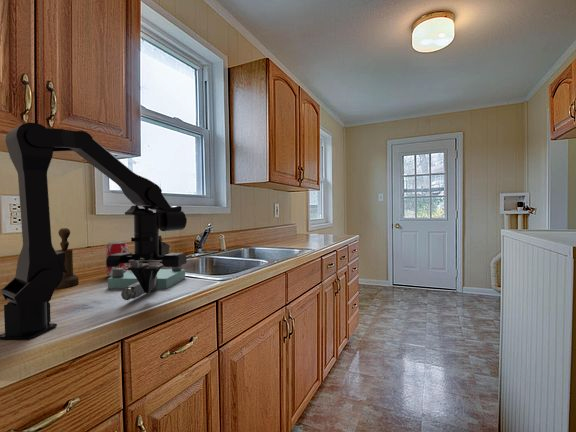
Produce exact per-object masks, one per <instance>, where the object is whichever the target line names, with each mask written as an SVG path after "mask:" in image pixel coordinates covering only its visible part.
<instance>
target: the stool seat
mask: <svg viewBox="0 0 576 432" xmlns="http://www.w3.org/2000/svg"><path fill="white" fill-rule="evenodd" d="M182 267H183V265H181V266H179V267H171V268H161V269H160V270H159V271H158V273H157V290H158V289H159V290H160V289H164V290H166V289H168V288H170V287H172V286H174V285H176V284H177V283H179V282H181V281H182V280H184V279H186V269H182ZM112 276H113V277H107V289H109V290H110V289H112V290H113V289H114V290H115V289H123V290H124V289H126V287H127V286H130V285H132V284H134V283H136V282H139V281H138V280H137V278H136V277H135V275H134V274H133V273H132V271H131V270H129V271H128V272H125V273H124V268H115V269H112Z"/></svg>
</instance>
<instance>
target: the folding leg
mask: <svg viewBox="0 0 576 432" xmlns="http://www.w3.org/2000/svg"><path fill="white" fill-rule="evenodd" d="M156 290H158V289H157V275H156V277H155V280H154V283H153V286H152V289H151V292H152V291H156ZM144 294H146V293H145V292H144V290H143V288H142V287H141V285H140V283H139V282H136V283H134V284H132V285H130V286H127V287H126V289H123V290H122V291H121V293H120V296H121V298H122V299H123V300H125V301H130V300H134V299H137V298H139V297H141V296H142V295H144Z"/></svg>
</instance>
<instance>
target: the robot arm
mask: <svg viewBox="0 0 576 432" xmlns="http://www.w3.org/2000/svg"><path fill="white" fill-rule="evenodd" d="M4 140H5V145H6V148H7V151H8V155H9V158H10V160H11V162H12V164H13V166H14V168H15V170H16V172H17V178H18V179H17V180H18V194H19V207H20V210H19V211H20V222H21V223H20V224H21V236H22V237H21V238H22V248H21V251H20V252H19V256H18V259H17V264H16V268H15V277H14V278H12V279H11V280H10V281H9V282H8V283H7V284H6V285H5V286H4V287H3V288H2V289H0V293H1V296H2V298H3V299H4V300H5V301H8V302H7V304H4V305H3V315H4V316H3V317H4V318H3V319H4V332H3V333H1V334H0V340H1V339H3V340H29V339H33V338H34V337H37V336H39V335H41V334H43V333H45V332H48V331H49V330H52V329H54V328H56V327H58V323H51V303H50V301H51V299H52V297H53V296H54V292H55V290H56V289H58V288H57V286H58V285H59V284H60V283H61V282H62V280H63V273H67V271H66V269H65V265H64V263H65V253H64V252H58V251H59V250H55V248H54V246H53V242H52V230H51V215H50V214H51V213H50V200H49V184H48V170H49V167H50V164H51V162H52V159H53V155H54V153H55V152H75V154H78V155H79V156H80V157H81V158H82V159H83V160H85V161H87V162H88V163H89V164H90V165H91V166H93V167H94V168H95V169H97V170H98V171H100V172H101V174H104V175H105V176H106V177H107V178H108V179H110V180H111V181H112V182H114V183H115V184H116V185H117V186H118V187H119V188H120V189H121V191H122V193H123V194H124V196H125V197H126V198H127V199H128V200H129V201H130V203H132V204H133V205H131V207H130V208H129V209H128V210H126V211H125V212H124V215H125V216H133V232H134V233H133V237H131V238H130V239H131V240H130V242H134V243H133V245H134V247H133V248H134V253H132V252H128V253H117V254H113V255H109V256H108V257H107V259H106V258H105V267H118V266H119V265H120V264H121V263H129V268H128V270H129V271H130V270H131V271H132V273H133V274H134V275H135V277H136V278H137V280H138V281H139V283H140V285H141V287H142V288H143V290H144V292H145V293H144V294H146V295H147V294H150V293H151V292H152V291H151V289H152V286H153V283H154V280H155V277H156V275H157V273H158V271H159V270H160V269H164V268H172V267H179V266H181V265H182V266H183V265H186V264H187V261H188V260H187V255H186V254H185V253H184V252H170V246H171V245H170V244H168V243H167V242H164V241H163V240H162V235H160V231H161V232H174V231H183V230H184V229H185V228H186V226H187V221H188V219H187V217H186V214H185V212H184V211H183V210H182V206H181V205H179V206H177V205H176V206H175V205H174V206H171V205H170V204H169V202H168V201H167V199H166V198H165V196H164V195H163V193H162V192H163V190H162V188H161V187H160V186H159V185H158V184H157V183H155V182H153V181H151V180H150V179H149V178H147V177H144V176H141V175H139V174H137V173H135V172H134V171H132V170H131V169H130V168H129V167H127V166H126V165H125V164H124V163H123V162H121V160H120V159H118V158H117V157H116V156H114V155H113V154H112V153H111V152H110V151H108V150H107V149H106V148H105V147H104V146H103V145H101V143H99V142H97V141H96V140H95V139H94V138H93V136H92V135H91V134H90V133H89V132H87V131H85V130H71V129H65V128H64V129H62V128H54V127H52V128H51V127H46V126H44V125H42V124H40V123H36V122H25V123H22V124H21V125H18V126H16V127H15V128H12V129H11V130H9V131H8V132H7V133H6V136H5V139H4ZM141 207H143V208H141ZM154 211H155V212H154Z"/></svg>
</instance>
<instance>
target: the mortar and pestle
mask: <svg viewBox="0 0 576 432" xmlns="http://www.w3.org/2000/svg"><path fill="white" fill-rule="evenodd" d="M57 234H58V236H59V237H60V238H61V242H60V243H59V245H60V248H61V249H60V250H57V251H58V252H64V253H65V263H64V265H65V269H66V271H67V273H63V280H62V282H61V283H60V284H59V285H58V286H57V288H56V289H62V288H63V289H64V288H70V287H75V286H77V285H79V276H77V275H76V274H74V259H73V254H74V253H73V252H74V251H73V249H69V245H70V242H69V241H68V238H69V237H70V235H71V230H70V229H69V228H67V227H62V228H60V229H59V231H58V233H57Z"/></svg>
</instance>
